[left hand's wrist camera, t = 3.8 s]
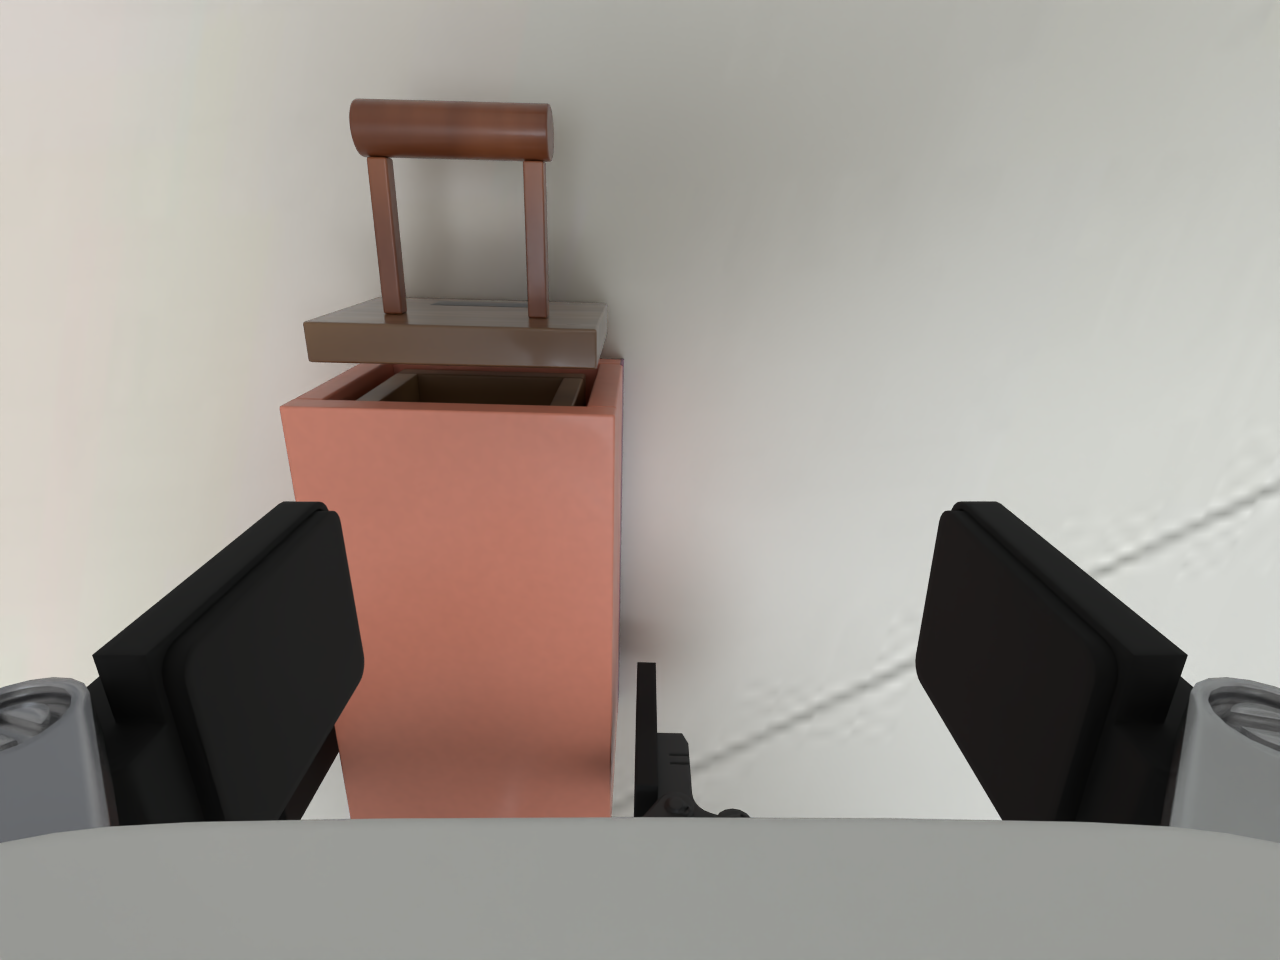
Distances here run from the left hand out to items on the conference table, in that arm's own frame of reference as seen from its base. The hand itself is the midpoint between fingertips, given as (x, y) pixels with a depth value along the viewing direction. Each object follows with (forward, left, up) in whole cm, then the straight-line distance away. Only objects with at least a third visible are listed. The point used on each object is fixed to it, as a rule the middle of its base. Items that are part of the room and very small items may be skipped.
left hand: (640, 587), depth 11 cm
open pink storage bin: (+9, -5, -18) cm, 21 cm away
